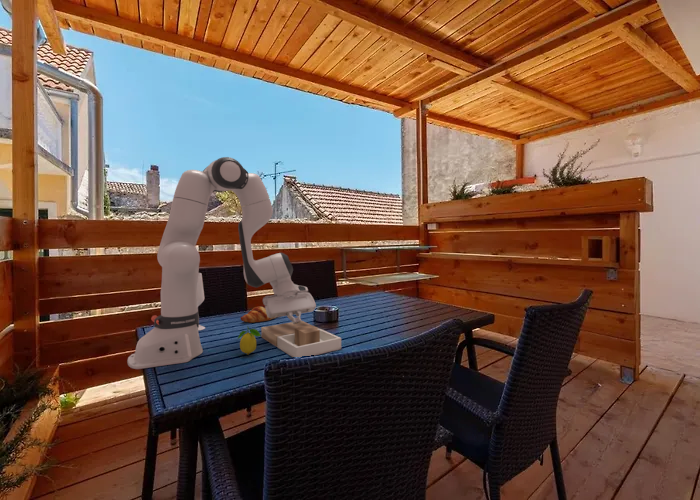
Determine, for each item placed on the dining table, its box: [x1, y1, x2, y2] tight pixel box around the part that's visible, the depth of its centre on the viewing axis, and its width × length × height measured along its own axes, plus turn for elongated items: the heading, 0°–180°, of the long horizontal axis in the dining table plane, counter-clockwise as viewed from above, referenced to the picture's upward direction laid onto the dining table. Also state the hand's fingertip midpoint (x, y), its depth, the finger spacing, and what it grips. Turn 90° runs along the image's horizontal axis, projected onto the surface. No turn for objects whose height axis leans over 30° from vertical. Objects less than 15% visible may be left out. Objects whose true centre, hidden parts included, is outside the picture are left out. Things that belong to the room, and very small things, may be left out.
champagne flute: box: [197, 272, 206, 331], centre depth 151 cm, size 7×7×24 cm
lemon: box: [237, 325, 261, 356], centre depth 120 cm, size 7×6×10 cm
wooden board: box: [260, 320, 319, 347], centre depth 139 cm, size 18×14×4 cm
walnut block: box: [295, 326, 320, 346], centre depth 128 cm, size 6×6×8 cm
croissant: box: [240, 306, 277, 324], centre depth 167 cm, size 21×10×8 cm, turn 134°
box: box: [277, 328, 342, 358], centre depth 127 cm, size 18×15×4 cm
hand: (297, 322), depth 134 cm, fingers closed
